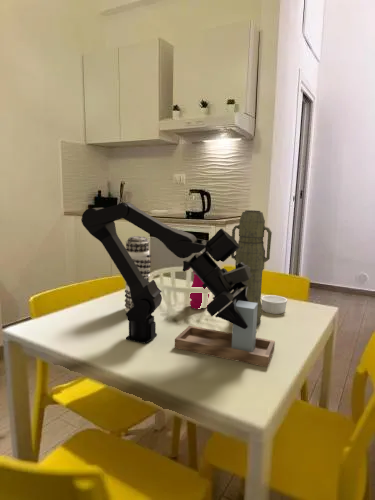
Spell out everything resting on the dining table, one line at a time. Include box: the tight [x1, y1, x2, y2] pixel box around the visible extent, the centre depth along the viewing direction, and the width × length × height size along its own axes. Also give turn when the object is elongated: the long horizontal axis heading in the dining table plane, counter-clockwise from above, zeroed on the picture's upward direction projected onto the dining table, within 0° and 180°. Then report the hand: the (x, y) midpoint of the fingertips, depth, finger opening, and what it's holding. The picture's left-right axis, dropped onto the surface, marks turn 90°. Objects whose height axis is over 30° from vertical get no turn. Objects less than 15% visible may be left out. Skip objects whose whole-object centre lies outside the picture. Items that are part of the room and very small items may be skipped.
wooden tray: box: [174, 325, 276, 368], centre depth 90 cm, size 24×10×2 cm, turn 68°
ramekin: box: [261, 294, 288, 315], centre depth 121 cm, size 9×9×4 cm
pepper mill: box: [189, 251, 210, 310], centre depth 122 cm, size 7×7×20 cm
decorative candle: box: [124, 235, 152, 313], centre depth 117 cm, size 9×9×25 cm
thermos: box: [230, 209, 273, 327], centre depth 107 cm, size 9×12×35 cm
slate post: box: [231, 300, 258, 352], centre depth 87 cm, size 5×5×12 cm
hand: (250, 321), depth 86 cm, fingers open, 9 cm apart
